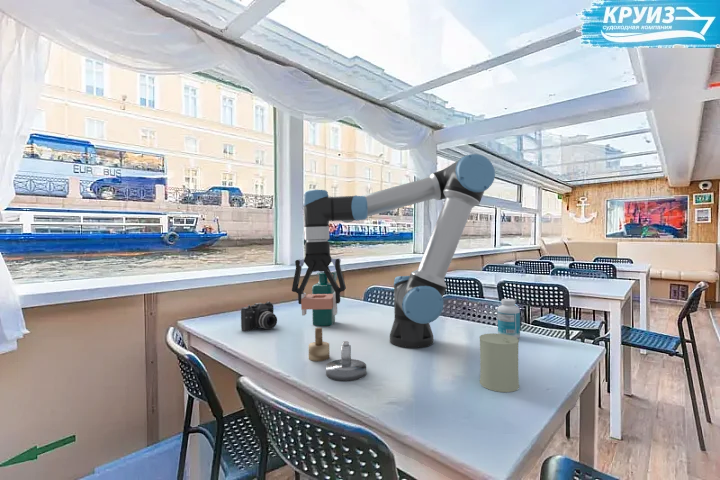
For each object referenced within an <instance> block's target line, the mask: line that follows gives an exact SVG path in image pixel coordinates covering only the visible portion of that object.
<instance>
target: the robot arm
mask: <svg viewBox="0 0 720 480" xmlns="http://www.w3.org/2000/svg"><path fill="white" fill-rule="evenodd" d="M495 177H496V172H495V168H494V165H493V163H492V162H491V160H490V159H489V158H488V157H486V156H484V155H483V154H479V153H471V154H467V155H464V156H462V157H461V158H459V160H457V161H456V162H453V163H452V164H450V165H449V166H447V167H445V168H443V169H441V170H439V171H436V172H432V173H430V175H429V176H428V177H425V178H422V179H418V180H413V181H411V182H407V183H404V184H400V185H396V186H393V187H388V188H385V189H381V190H379V191H374V192H371V193H367V194H366V193H365V194H364V195H363V194H362V195H356V194H355V195H344V196H343V195H341V196H331V195H329V193H328V191H327V190H325V189H310V190H306V191H304V192H303V207H302V209H303V227H304V241H306V242H305V244H304V251H305V252H304V253H305V256H304V258H303V259H296V260H295V261H294V263H295V271H294V275H293V281H292V286H291V292H292V293H295V294H297V298H298V301H297V302H298V304H299V305H301V299H302V298H304V297H305V296H307V293H306V292H305V289H306V287H307V284H308V282H309V280H310V277H312V276H311V275H312V274H313V273H314V272H315V273H317V272H324V273H325V274H326V276H327V278H328V282H329V283H331V285H332V287H333V289H334V291H335V292H334V293H333V313H334V315H335V316H336V315H338V304H340V303H341V292H344V291H345V290H346V288H347V287H346V283H345V280H344V275H343V272H342V268H341V258H340V257H339V258H333V257H332V256H331V250H330V248H331V246H330V245H331V243H330V241H328V240H330V222H344V223H346V224H347V223H352V222H354V221H355V222H359V221H364V220H366V219H368V217H371V216H375V215H378V214H382V213H386V212H389V211H393V210H397V209H401V208H405V207H407V206H411V205H415V204H419V203H422V202H426V201H429V200H436V201H441V200H444V203H443V205H442V207H441V210H440V212H439V214H438V217H437V219H436V221H435V225H434V227H433V230H432V233H431V235H430V238H429V240H428V242H427V245H426V248H425V250H424V252H423V255H422V258H421V260H420V263H419V265H418V268H417V269H415V270H414V271H411V272H410V275H402V276H401V275H400V276H399V275H398V276H395V278H394V282H393V288H394V289H393V292H394V293H393V296H394V302H393V303H394V304H393V305H394V311H393V312H394V320H393V323H392V325H391V330H390V333H389V342H390V344H392V345H395V346H397V347H401V348H410V349H413V348H416V349H417V348H426V347H429V346H432V345H433V344H434V343H435V342H434V333H433V331H432V327H431V324H430V323H432V322H434V321H436V320H437V319H438V318H439V317H440V316H441V314H442V312H443V310H444V298H443V297H444V294H445V292H446V289H447V287H448V286H447V285H446V282H445V278H446V275H447V274H448V270H449V268H450V265H451V263H452V260H453V258H454V256H455V252H456V250H457V248H458V244H459V242H460V240H461V237H462V235H463V232H464V230H465V227H466V225H467V223H468V220H469V217H470V215H471V212H472V209H473V208H474V207H477V206H479V205H480V204H481V203H480V202H481V201H482V198H483V195H484V193H485V191H487V190H488V189H490V187H491V186H492V185H493V184H494V182H495ZM304 264H305V265H306V267H307V269H306V272H305V274H304V276H303V279H302V280H301V283H300V279H301V275H302V274H301V273H302V269H303V268H302V267H304ZM330 264H332V265H333V266H335V267H334V268H335V271H336V273H337V280H338V283H339V284H338V283H337V280H336V281H335V279H334V277H333V275H334V274H332V272H331V269H330V267H329V266H330ZM299 285H300V286H299ZM306 315H307V309H304V310H301V316H302V317H303V316H306Z"/></svg>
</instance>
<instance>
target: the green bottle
mask: <svg viewBox="0 0 720 480" xmlns="http://www.w3.org/2000/svg"><path fill="white" fill-rule="evenodd" d="M331 273H332V275H333V277H334V279H335V281H336V282H337V280H338V276H337V273H336V270H335V271H333V272H331ZM316 275H318V282H317V283H315V284H313V285H312V287H311V294H333V293H334V292H335V291H334V289H333V287H332V285H331V283H330V281H329V280H328V278H327V276H326V274H325V273H324V271H323V272H320V271H318V272H316ZM311 311H312V314H311V315H312V325H313V326H315V327H316V326H317V327H329V326H332V325H333V324H334V323H335V322H336V315H334V313H333V308H332V309H311Z"/></svg>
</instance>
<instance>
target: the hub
mask: <svg viewBox="0 0 720 480" xmlns="http://www.w3.org/2000/svg"><path fill="white" fill-rule="evenodd" d="M340 349H341V350H340V351H341V352H340V356H341V357H340V358H341V359H335V360H332V361H330V362H328V363H327V364H326V366H325V375H326V378H329V380H332V381H337V382H354V381H357V380H361V379H363V378H365V376H366V375H367V364H366V363H365V362H364V361H362V360H359V359H353V358H352V351H351V350H352V346H351V344H350V342H349V341H343V342H342V344H341V345H340Z"/></svg>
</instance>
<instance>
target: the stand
mask: <svg viewBox="0 0 720 480" xmlns="http://www.w3.org/2000/svg"><path fill="white" fill-rule="evenodd" d="M314 330H315V331H314V335H315V336H314V342H310V343H308V347H307V349H308V359H309V360H310V361H313V362H323V361H326V360H329V359H330V358H331V357H330V343H329V342H327V341H323V327H315V328H314Z"/></svg>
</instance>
